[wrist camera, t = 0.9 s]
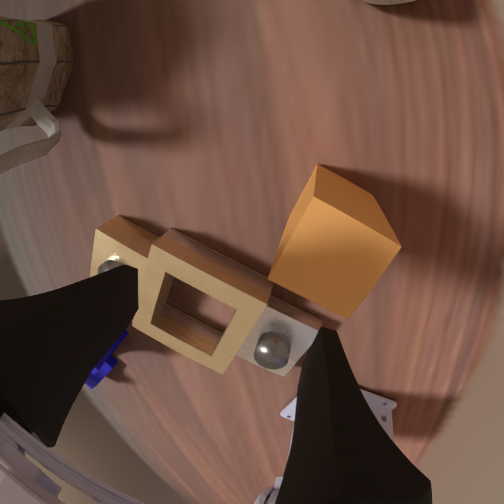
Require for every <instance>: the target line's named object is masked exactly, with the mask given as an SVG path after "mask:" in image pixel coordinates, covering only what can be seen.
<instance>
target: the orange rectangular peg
mask: <svg viewBox="0 0 504 504" xmlns="http://www.w3.org/2000/svg"><path fill="white" fill-rule="evenodd" d="M400 249H401V245H400V243H399V241H398V239H397V237H396V235H395V233H394V231H393V230H392V228H391V226H390V224H389V222H388V221H387V219H386V217H385V215H384V213H383V212H382V210H381V208H380V206H379V205H378V203H377V201H376V200H375V198H374V196H373V195H372V194H370V193H369V192H367V191H365V190H364V189H362V188H360V187H358V186H357V185H355V184H353V183H352V182H350V181H348V180H346V179H344V178H343V177H341V176H339V175H337V174H335V173H334V172H332V171H330V170H328V169H326V168H324V167H322V166H321V165H319V164H317V165H316V167H315V169H314V171H313V173H312V175H311V177H310V179H309V180H308V182H307V184H306V186H305V188H304V190H303V192H302V194H301V196H300V198H299V199H298V201H297V203H296V205H295V207H294V209H293V211H292V213H291V214H290V216H289V219H288V222H287V225H286V228H285V230H284V233H283V236H282V239H281V242H280V245H279V248H278V251H277V253H276V256H275V259H274V262H273V265H272V268H271V271H270V273H269V276H268V280H270V281H272V282H274V283H276V284H278V285H280V286H282V287H284V288H286V289H288V290H290V291H292V292H294V293H296V294H298V295H300V296H302V297H304V298H306V299H308V300H310V301H312V302H314V303H316V304H318V305H320V306H322V307H324V308H326V309H329V310H331V311H333V312H335V313H337V314H339V315H341V316H343V317H345V318H347V319H349V317H350V316H351V315H352V314H353V312H354V311H355V310H356V309H357V307H358V306H359V305H360V303H361V302H362V301H363V300H364V298H365V297H366V296H367V294H368V293H369V292H370V290H371V289H372V288H373V286H374V285H375V284H376V282H377V281H378V280H379V278H380V277H381V276H382V274H383V273H384V271H385V270H386V269H387V267H388V266H389V264H390V263H391V262H392V260H393V259H394V257H395V256H396V254H397V253H398V252H399V250H400Z"/></svg>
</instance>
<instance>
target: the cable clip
mask: <svg viewBox="0 0 504 504" xmlns="http://www.w3.org/2000/svg"><path fill="white" fill-rule="evenodd" d="M127 334H128V332H127V331H126V330H125V331H124V332H123V333H122V334H121V336H120V337H119V338H118V339H117V340H116V342H115V343H114V344H113V345H112V346H111V348H110V349H109V350H108V351H107V353H106V354H105V355H104V356H103V357H102V359H101V360H100V361H99V362H98V364H97V365H96V366H95V368H94V369H93V370H92V372H91V373H90V375H89V377H88V378H87V380H86V381H85V384H87V385H88V386H89V387H90V388H91V389H93V388H94V387H95V386H96V385H98V383H99V382H100V381H101V380H102V379H103V378H104V377H105V376H106V375H107V374H108V373H109V372H110V371H111V370H112V369H113V368H114V366H115V365H116V364H117V362H118V361H117V360H116V359H115V358H114V357H113V356H112V355H111V354H112V353H113V352H114V350H115V349H116V348H117V347H118V345H119V344H120V343H121V342H122V340H123V339H124V338H125V337H126V336H127Z"/></svg>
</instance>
